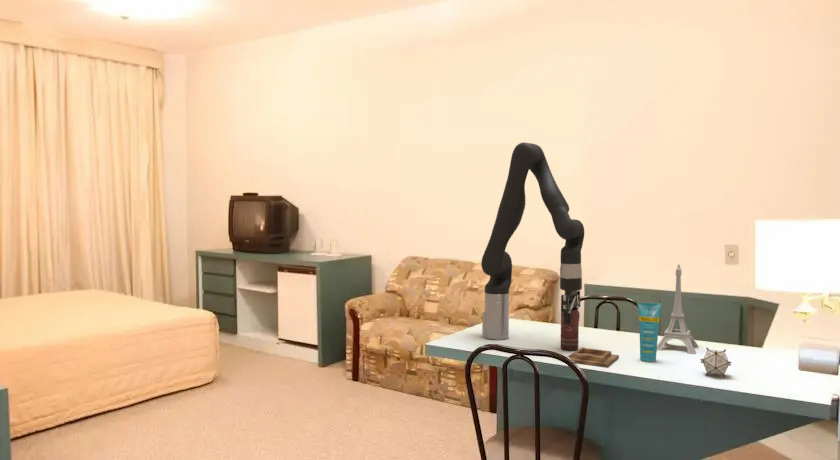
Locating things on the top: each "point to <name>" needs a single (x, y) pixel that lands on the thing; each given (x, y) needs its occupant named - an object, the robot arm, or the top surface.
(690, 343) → the eiffel tower
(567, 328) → the can
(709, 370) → the game die
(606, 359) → the coaster plate
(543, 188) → the robot arm
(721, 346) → the top surface
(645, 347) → the tube
